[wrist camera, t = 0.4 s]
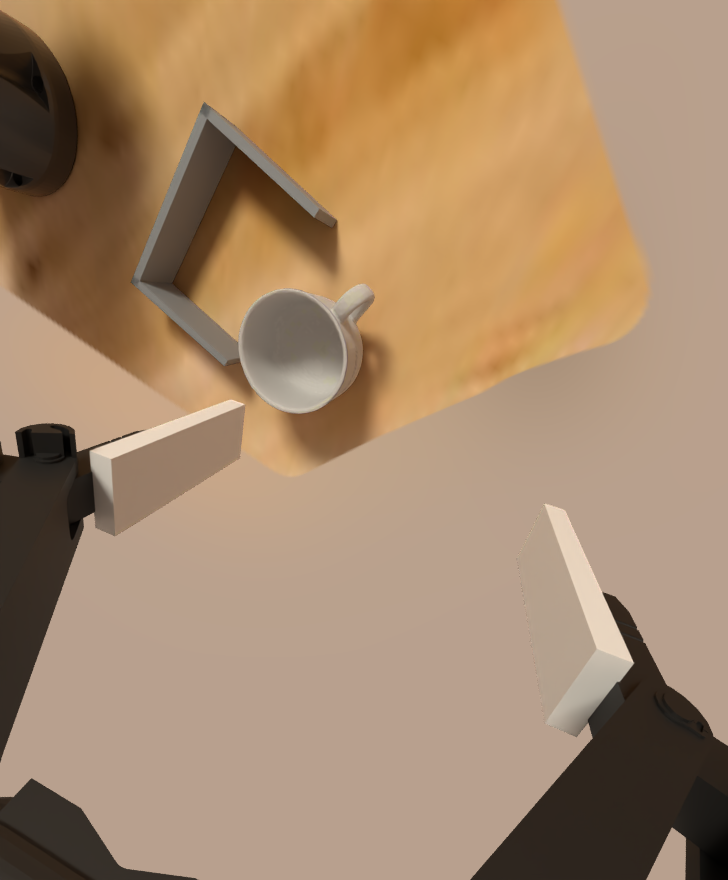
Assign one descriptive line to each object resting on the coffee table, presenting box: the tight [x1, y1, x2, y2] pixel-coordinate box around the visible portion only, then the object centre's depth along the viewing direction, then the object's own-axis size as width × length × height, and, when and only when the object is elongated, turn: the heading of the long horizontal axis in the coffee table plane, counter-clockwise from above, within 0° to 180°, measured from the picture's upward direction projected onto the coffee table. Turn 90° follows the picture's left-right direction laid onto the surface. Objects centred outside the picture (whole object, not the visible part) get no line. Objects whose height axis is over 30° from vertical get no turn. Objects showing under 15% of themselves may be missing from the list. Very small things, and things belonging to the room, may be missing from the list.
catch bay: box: [131, 102, 337, 366], centre depth 36 cm, size 13×18×4 cm
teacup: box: [238, 284, 375, 414], centre depth 35 cm, size 14×11×8 cm
